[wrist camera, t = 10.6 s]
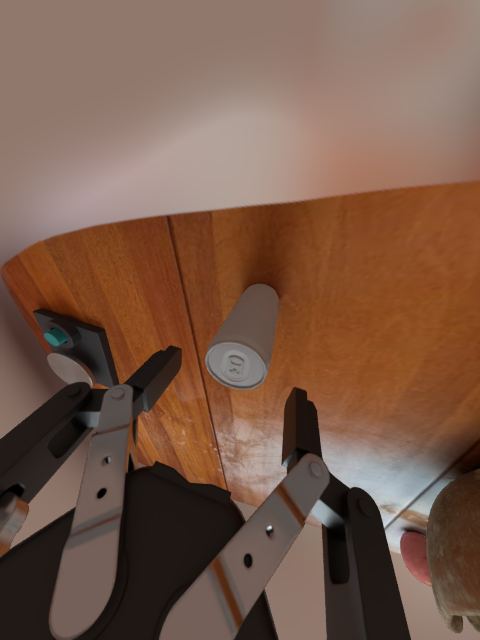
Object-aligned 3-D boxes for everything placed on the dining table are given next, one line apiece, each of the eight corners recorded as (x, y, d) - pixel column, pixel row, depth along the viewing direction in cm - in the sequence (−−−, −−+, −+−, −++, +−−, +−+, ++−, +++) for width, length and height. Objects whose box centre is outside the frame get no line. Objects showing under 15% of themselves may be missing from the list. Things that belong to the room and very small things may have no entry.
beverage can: (239, 312, 25) (202, 380, 15) (245, 277, 22) (204, 332, 12) (274, 321, 24) (260, 398, 14) (284, 286, 22) (276, 352, 11)
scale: (39, 304, 35) (19, 311, 32) (103, 325, 33) (88, 334, 31) (67, 365, 44) (54, 375, 41) (119, 384, 42) (108, 395, 40)
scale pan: (44, 344, 36) (39, 346, 35) (88, 360, 35) (84, 363, 34) (61, 378, 41) (57, 380, 40) (100, 392, 40) (97, 395, 39)
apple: (391, 523, 43) (408, 580, 36) (432, 528, 40) (460, 593, 33) (396, 536, 45) (414, 592, 39) (435, 542, 42) (462, 605, 35)
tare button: (51, 326, 33) (41, 330, 31) (64, 330, 32) (55, 335, 31) (57, 338, 34) (47, 343, 33) (69, 342, 34) (60, 347, 33)
